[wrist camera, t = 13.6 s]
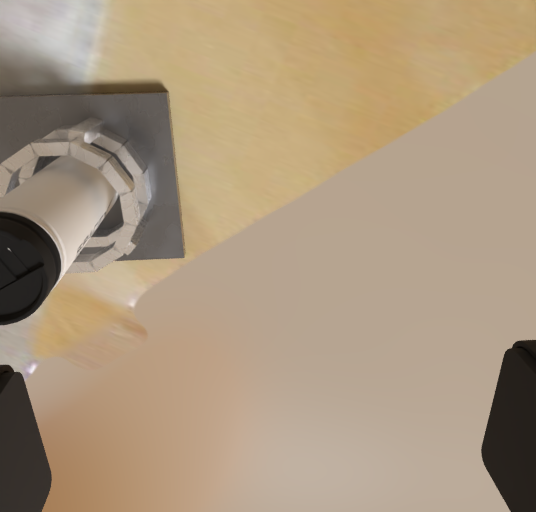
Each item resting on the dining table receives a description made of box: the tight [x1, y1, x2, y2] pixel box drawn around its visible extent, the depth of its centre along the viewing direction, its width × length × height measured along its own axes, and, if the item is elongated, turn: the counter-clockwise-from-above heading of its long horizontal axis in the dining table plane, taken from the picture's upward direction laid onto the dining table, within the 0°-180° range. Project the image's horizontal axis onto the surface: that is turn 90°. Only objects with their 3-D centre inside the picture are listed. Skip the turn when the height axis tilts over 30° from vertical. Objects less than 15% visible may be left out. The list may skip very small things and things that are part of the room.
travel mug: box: [0, 155, 119, 325], centre depth 36 cm, size 6×7×20 cm
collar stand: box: [0, 92, 185, 273], centre depth 42 cm, size 16×16×9 cm
